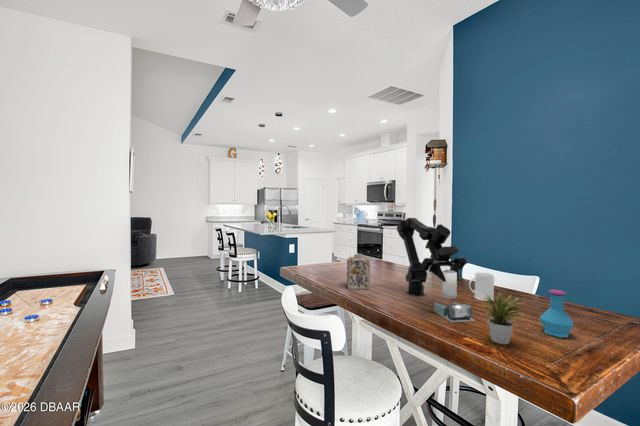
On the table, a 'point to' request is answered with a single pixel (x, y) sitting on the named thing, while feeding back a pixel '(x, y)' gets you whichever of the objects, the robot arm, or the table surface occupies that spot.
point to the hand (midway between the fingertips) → (451, 281)
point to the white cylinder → (449, 284)
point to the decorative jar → (358, 272)
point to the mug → (483, 286)
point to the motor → (454, 312)
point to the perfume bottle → (556, 316)
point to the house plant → (501, 319)
